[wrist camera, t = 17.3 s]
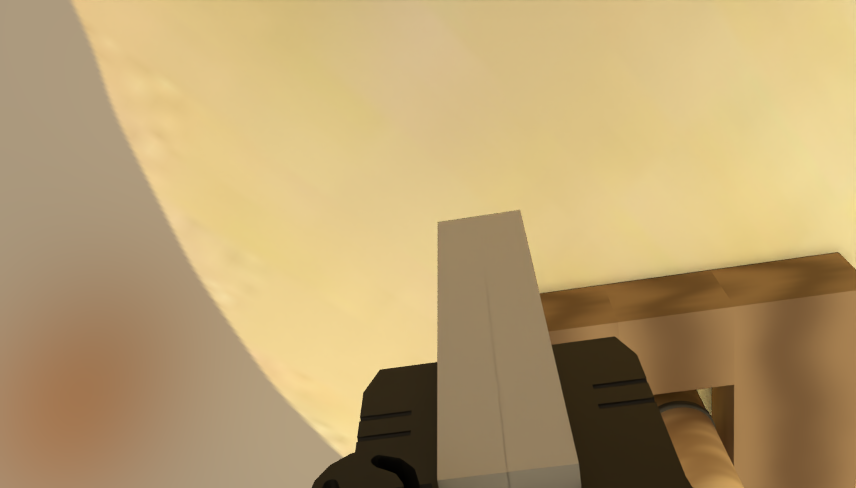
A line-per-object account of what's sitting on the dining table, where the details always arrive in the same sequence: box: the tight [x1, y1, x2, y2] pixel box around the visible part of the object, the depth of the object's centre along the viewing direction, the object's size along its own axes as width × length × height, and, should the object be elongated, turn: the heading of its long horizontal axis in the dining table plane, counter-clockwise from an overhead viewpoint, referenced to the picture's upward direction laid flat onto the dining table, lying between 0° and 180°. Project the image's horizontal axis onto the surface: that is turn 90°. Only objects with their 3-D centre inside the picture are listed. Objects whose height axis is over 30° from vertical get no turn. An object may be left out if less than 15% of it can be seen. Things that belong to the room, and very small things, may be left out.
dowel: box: [653, 389, 744, 488], centre depth 43 cm, size 4×4×10 cm
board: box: [540, 253, 856, 488], centre depth 46 cm, size 20×16×4 cm
